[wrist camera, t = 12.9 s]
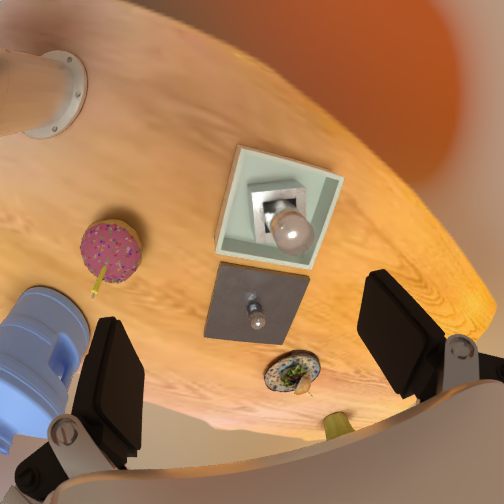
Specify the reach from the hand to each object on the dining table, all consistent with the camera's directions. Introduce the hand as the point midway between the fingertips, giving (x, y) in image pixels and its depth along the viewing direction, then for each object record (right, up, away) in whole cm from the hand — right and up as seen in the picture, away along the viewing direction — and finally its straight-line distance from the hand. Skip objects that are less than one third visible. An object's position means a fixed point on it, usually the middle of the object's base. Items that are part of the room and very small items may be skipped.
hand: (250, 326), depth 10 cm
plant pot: (+23, -43, +59) cm, 76 cm away
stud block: (0, -6, +36) cm, 36 cm away
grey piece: (+3, +9, +28) cm, 30 cm away
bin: (+3, +9, +29) cm, 30 cm away
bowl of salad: (+8, -21, +45) cm, 51 cm away
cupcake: (-19, +5, +28) cm, 34 cm away
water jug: (-36, -10, +32) cm, 49 cm away
